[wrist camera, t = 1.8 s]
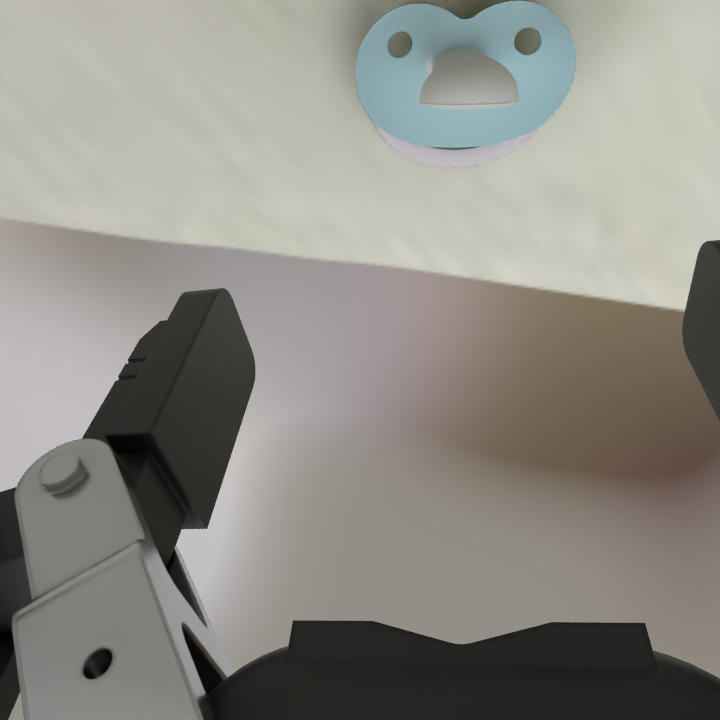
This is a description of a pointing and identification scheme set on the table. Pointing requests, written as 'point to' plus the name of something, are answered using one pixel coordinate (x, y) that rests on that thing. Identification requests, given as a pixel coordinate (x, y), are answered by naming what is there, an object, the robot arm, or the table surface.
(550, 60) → the pacifier
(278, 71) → the table surface
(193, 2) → the table surface
